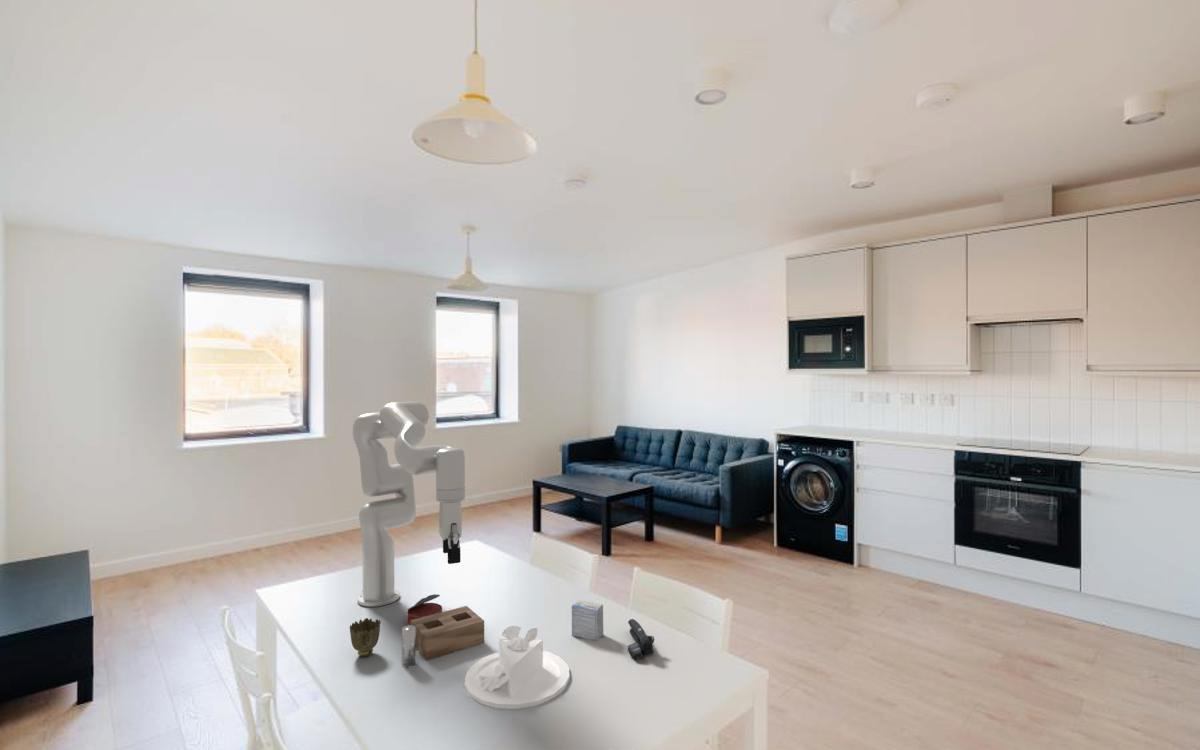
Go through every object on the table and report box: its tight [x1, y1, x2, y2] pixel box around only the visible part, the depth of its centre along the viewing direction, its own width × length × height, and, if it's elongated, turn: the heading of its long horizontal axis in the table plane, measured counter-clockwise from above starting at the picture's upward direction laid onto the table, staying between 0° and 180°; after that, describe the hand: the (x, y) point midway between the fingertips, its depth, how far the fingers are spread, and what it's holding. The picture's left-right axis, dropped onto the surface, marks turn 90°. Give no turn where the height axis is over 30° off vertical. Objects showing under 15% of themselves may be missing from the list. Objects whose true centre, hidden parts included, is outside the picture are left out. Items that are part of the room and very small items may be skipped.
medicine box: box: [571, 599, 604, 642], centre depth 159 cm, size 8×4×9 cm, turn 65°
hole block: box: [411, 605, 485, 661], centre depth 155 cm, size 12×16×6 cm
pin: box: [401, 624, 417, 668], centre depth 144 cm, size 3×3×9 cm
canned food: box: [406, 593, 443, 625], centre depth 169 cm, size 11×10×10 cm
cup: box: [348, 617, 381, 658], centre depth 148 cm, size 8×7×8 cm
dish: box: [463, 625, 571, 710], centre depth 137 cm, size 25×25×11 cm
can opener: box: [627, 618, 656, 659], centre depth 154 cm, size 18×7×6 cm, turn 7°
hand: (451, 557), depth 154 cm, fingers open, 9 cm apart
